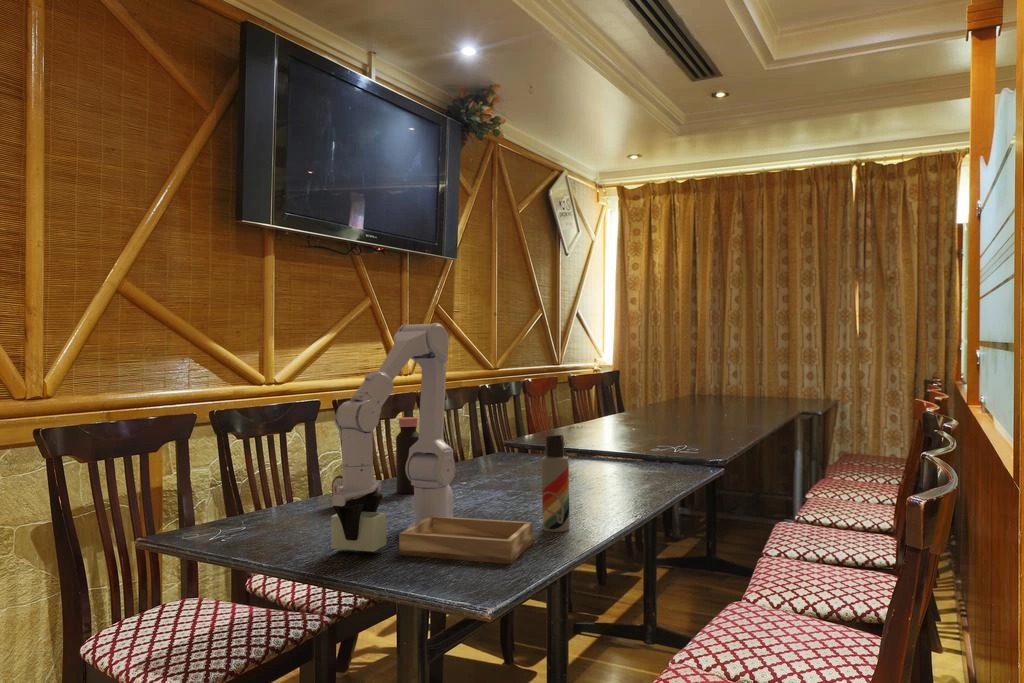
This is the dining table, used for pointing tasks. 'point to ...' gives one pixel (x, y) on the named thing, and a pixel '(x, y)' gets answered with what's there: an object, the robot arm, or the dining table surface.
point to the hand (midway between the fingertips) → (358, 535)
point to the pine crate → (467, 539)
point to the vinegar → (405, 452)
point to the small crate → (361, 533)
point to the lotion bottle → (555, 486)
